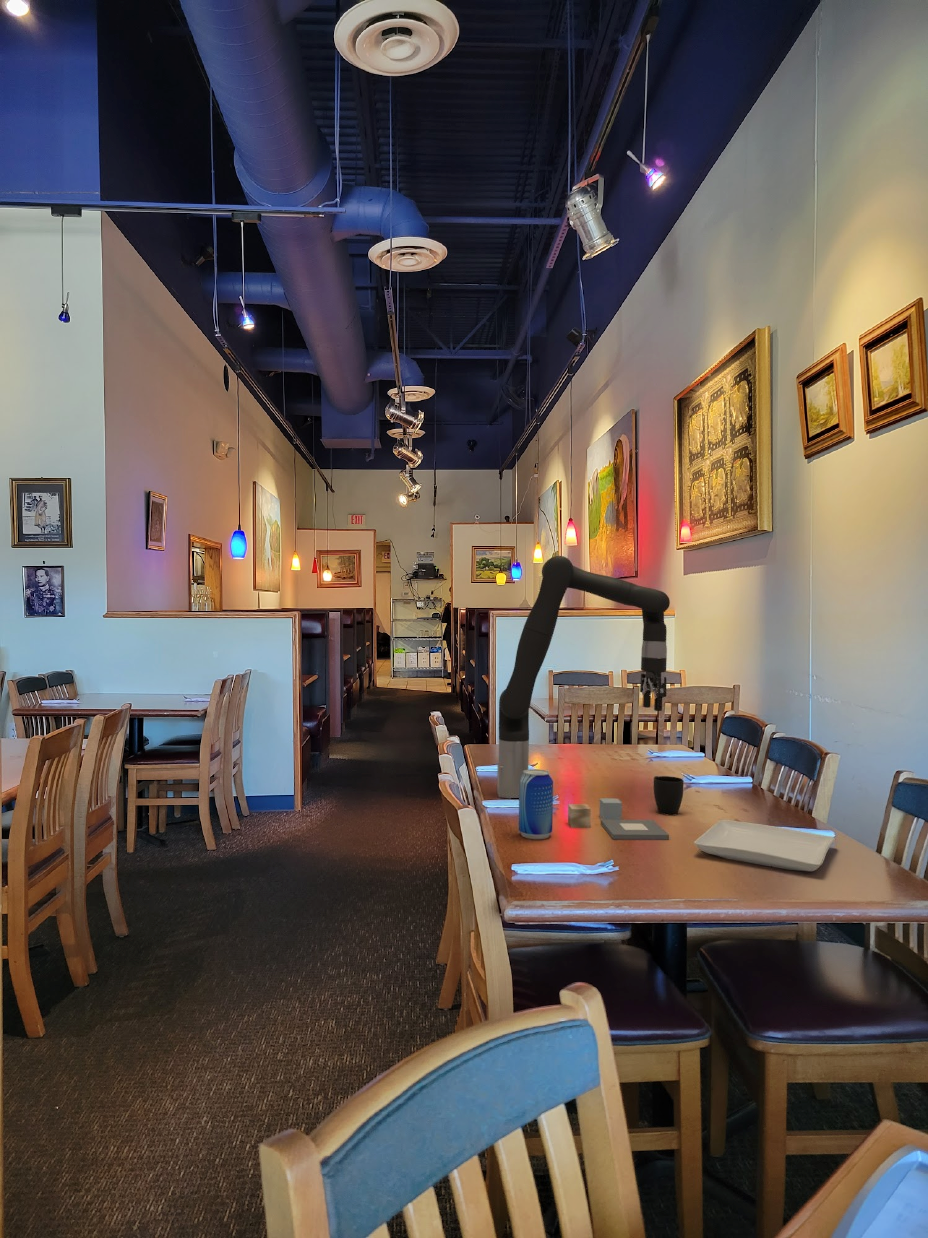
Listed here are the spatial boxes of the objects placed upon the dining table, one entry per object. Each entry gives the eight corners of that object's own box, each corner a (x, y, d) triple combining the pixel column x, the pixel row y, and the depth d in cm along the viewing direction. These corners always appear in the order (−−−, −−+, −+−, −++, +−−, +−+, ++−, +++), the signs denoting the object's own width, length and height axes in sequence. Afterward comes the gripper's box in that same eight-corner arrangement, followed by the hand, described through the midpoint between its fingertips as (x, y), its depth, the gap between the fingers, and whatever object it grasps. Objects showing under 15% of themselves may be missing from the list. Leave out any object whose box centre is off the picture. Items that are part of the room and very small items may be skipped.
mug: (669, 805, 227) (669, 773, 227) (688, 815, 215) (688, 781, 215) (643, 806, 225) (643, 773, 225) (660, 816, 214) (661, 782, 214)
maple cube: (571, 828, 200) (571, 809, 200) (567, 823, 205) (568, 804, 205) (590, 828, 201) (590, 809, 201) (586, 823, 206) (586, 804, 206)
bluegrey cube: (603, 821, 208) (603, 802, 208) (599, 816, 213) (599, 798, 213) (621, 821, 208) (621, 803, 208) (617, 816, 213) (617, 798, 213)
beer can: (530, 842, 187) (531, 776, 187) (512, 833, 194) (513, 769, 194) (558, 838, 191) (559, 773, 191) (540, 829, 198) (541, 767, 198)
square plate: (820, 881, 163) (821, 863, 163) (691, 858, 178) (691, 841, 178) (836, 850, 186) (836, 834, 186) (720, 831, 201) (720, 817, 201)
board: (613, 839, 190) (613, 834, 190) (600, 824, 204) (600, 819, 204) (669, 839, 191) (669, 834, 191) (652, 824, 205) (652, 819, 205)
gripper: (633, 654, 241) (631, 706, 241) (651, 657, 227) (650, 712, 227) (656, 655, 243) (654, 706, 243) (675, 657, 229) (673, 712, 229)
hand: (652, 709), depth 235 cm, fingers open, 8 cm apart
